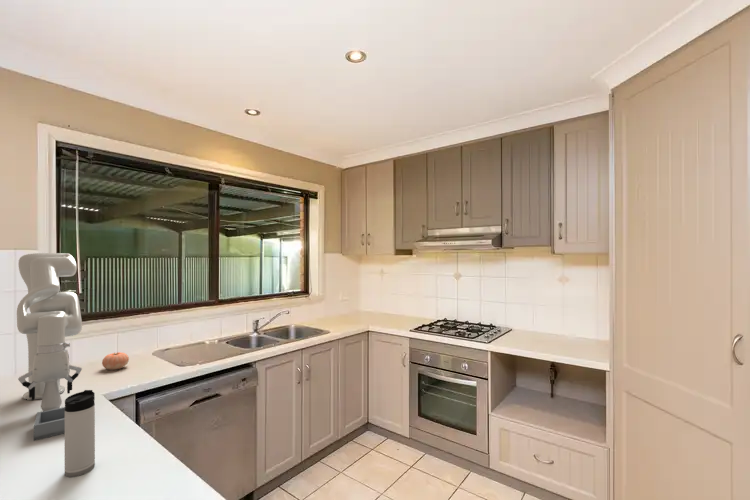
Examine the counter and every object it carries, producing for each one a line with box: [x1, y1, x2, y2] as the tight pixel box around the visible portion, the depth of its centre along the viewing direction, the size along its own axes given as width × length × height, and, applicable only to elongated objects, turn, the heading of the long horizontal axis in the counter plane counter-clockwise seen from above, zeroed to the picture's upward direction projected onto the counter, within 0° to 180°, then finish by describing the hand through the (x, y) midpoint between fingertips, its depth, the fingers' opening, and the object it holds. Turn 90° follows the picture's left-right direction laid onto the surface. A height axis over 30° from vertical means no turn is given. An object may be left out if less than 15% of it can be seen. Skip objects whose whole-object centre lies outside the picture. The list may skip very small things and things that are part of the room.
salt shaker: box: [40, 379, 63, 412], centre depth 134 cm, size 6×6×13 cm
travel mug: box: [64, 389, 96, 478], centre depth 98 cm, size 6×7×20 cm
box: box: [33, 406, 65, 441], centre depth 121 cm, size 12×12×4 cm
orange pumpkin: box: [101, 351, 130, 371], centre depth 181 cm, size 11×11×8 cm
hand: (51, 395), depth 134 cm, fingers open, 9 cm apart
